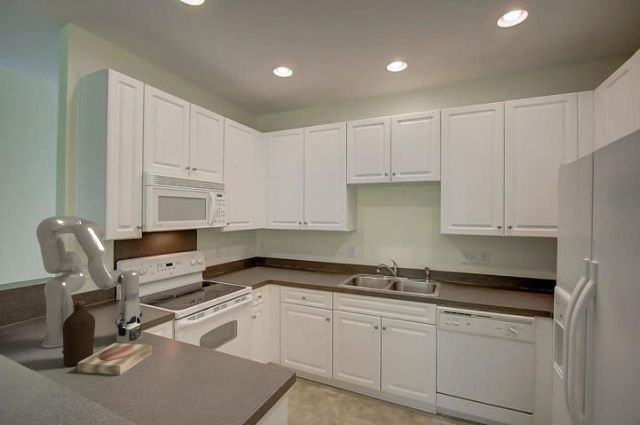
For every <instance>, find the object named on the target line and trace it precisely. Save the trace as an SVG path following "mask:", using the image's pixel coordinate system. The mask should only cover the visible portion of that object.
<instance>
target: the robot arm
mask: <svg viewBox="0 0 640 425" xmlns="http://www.w3.org/2000/svg"><path fill="white" fill-rule="evenodd" d="M64 234H73V235H74V237H75V240H77V242H78V244H79V245H80V247H81V249H82V251H83V252H84V253H85V254H84V255H86V257H87V271H88V274H89V276H90V278H91V280H92V281H93V283H94V284H95V286H97V288H99V289H100V290H105V291H106V290H109V289H112V288H114V287H118V286H120V300H119V303H118V308H117V317H116V318H115V320H114V324H115V326H116V329H117V328H118V336H125V335H126V328H125V325H126V323H127V322H129V321H130V320H131V318H132V317H133V316H137V323H138V324H141V320H142V316H143V312H144V308H141V300H140V273H139V271H138V270H123V269H122V270H121V269H115V270H112V271H108V268H107V267H106V265H105V258H106V255H107V254H108V250H109V249H108V247H107V245H106V243H105V242H104V240H103V239H102V238H103V237H104V236H106V228H105V227H104V226H103V225H102V224H100V223H98V222H96V221H91V220H89V219H86V218H83V217H78V216H74V215H70V216H69V215H66V216H65V215H56V216H50V217H47V218H45V219H43V220H41V222H39V224H38V225H37V227H36V238H37V242H38V244H39V248H40V254H41V259H42V264H43V267H44V270H45V272H46V273H48V274H51V275H53V274H60V273H61V275H58V276H54V277H51V279H49V280H47V282H46V283H45V285H44V288H43V292H44V296H45V302H46V313H45V314H46V319H45V320H46V321H45V322H46V323H45V324H46V325H45V326H46V327H45V332H43V333H42V335H40V339H43V342H41V346H40V347H41V348H43V349H56V348H60V347H63V333H62V327H63V324H64V321H65V320H66V319H67V318H68V317H69V316H70V315H71V314H72V313H73V312H74V301H73V298H72V295H71V294H72V293H75V292H76V291H79V290H81V289H82V288H84V286H85V283H86V276H85V271H84V266H83V262H82V258H81V256H80V255H79V254H78V253H77V252H74V251H66V245H65V243H64V241H63V239H62V238H61V236H60V235H64ZM123 320H125V321H123ZM122 323H123V325H122Z"/></svg>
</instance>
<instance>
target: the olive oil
mask: <svg viewBox="0 0 640 425" xmlns="http://www.w3.org/2000/svg"><path fill="white" fill-rule="evenodd" d="M85 308H86V304H85V300H83V299H82V300H80V299H79V300H76V301H75V302H74V304H73V313H72V314H71V315H70V316H69V317H68V318H67V319H66V320H65V321H64V324H63V327H62V333H63V346H62V351H61V354H62V355H63V357H62V358H63V366H64V367H67V368H73V367H78V362H80V361H82V360H84V359H86V358H88V357H90V356H91V355H93V354H94V344H95V343H94V342H95V332H96V331H95V330H96V319H95V317H94V315H93V314H92V313H90V312H89V311H87V309H85Z"/></svg>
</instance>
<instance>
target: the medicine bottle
mask: <svg viewBox="0 0 640 425" xmlns="http://www.w3.org/2000/svg"><path fill="white" fill-rule="evenodd" d="M123 321H125V320H123ZM122 325H123V323H122ZM125 328H126V335H125V336H118V328H117V327H116V343H125V344H133V342H134V343H135V341H137V340H139V339H141V337H142V324H141V323H140V324H138V323H137V316H133V317H132V318H131V320H130V321H129V322H127V323H126V325H125Z"/></svg>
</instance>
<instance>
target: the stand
mask: <svg viewBox="0 0 640 425" xmlns="http://www.w3.org/2000/svg"><path fill="white" fill-rule="evenodd" d="M152 354H153V345H152V344H137V343H136V344H135V343H130V344H127V343H119V342H114V343H112V344H109V346H107V347H105V348H102V349H101V350H99V351H96V352H95V353H93V355H91V356H90V357H88V358H86V359H84V360H82V361H80V362H78V366H77V372H78V373H88V374H103V375H113V376H114V375H116V376H121V375H123V374H124V373H126V372H127V371H128V370H130V369H131V368H133V367H134V366H136V365H138V363H140V362H141V361H143V360H144V359H146V358H147V357H149V356H150V355H152Z"/></svg>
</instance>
